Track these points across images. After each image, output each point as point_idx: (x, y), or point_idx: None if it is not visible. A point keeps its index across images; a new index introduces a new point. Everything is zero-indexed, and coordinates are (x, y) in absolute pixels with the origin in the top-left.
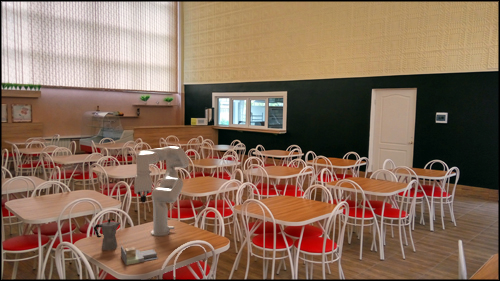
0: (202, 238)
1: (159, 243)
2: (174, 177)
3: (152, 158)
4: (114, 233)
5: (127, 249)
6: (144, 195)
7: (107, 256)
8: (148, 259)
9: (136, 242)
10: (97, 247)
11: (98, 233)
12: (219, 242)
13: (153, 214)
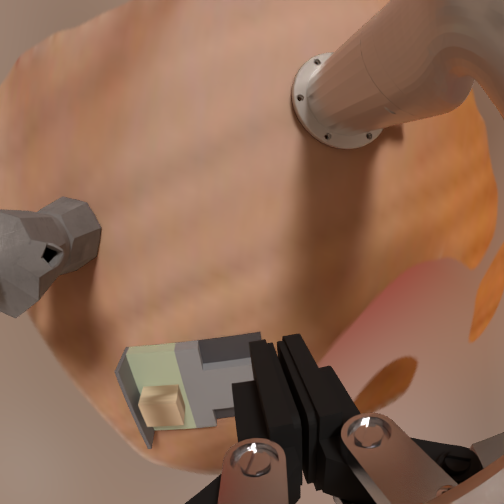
0: (469, 251)
1: (310, 253)
2: None
3: None
4: (57, 276)
5: (149, 416)
6: (333, 482)
7: (75, 333)
8: (233, 411)
9: (196, 197)
10: None
11: None
12: (486, 307)
13: (351, 62)
